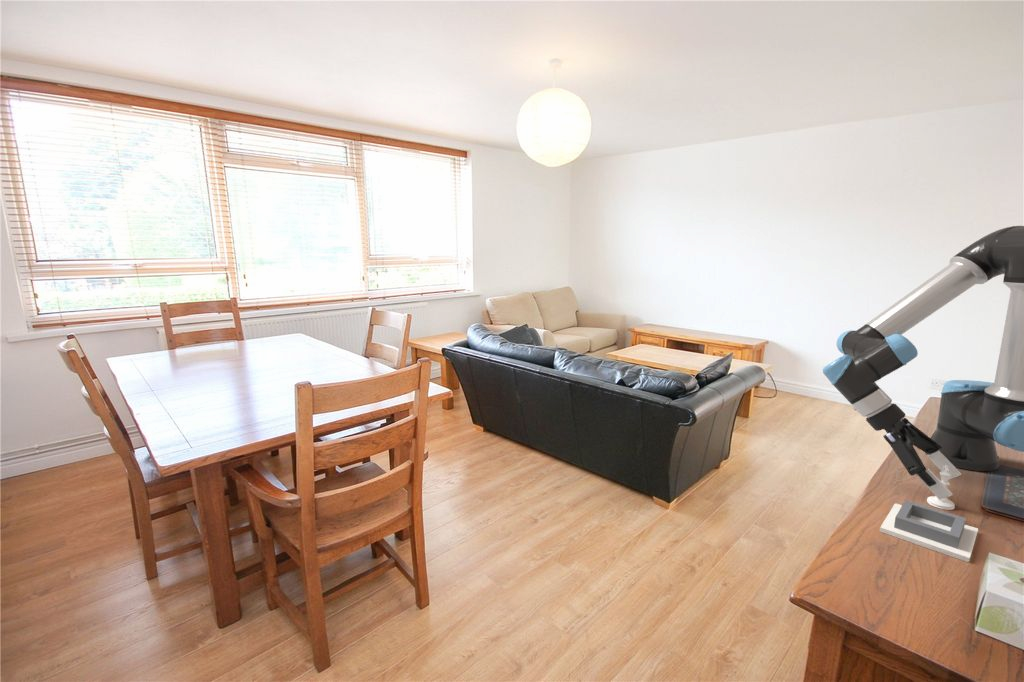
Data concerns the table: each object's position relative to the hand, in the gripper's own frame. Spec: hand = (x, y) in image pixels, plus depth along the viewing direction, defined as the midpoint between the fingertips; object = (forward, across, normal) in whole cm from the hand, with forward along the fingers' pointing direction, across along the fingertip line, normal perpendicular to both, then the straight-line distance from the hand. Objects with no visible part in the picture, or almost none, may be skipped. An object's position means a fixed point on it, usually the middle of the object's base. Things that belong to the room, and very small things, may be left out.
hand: (951, 486), depth 107 cm
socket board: (+3, +16, -5) cm, 17 cm away
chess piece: (+3, 0, -5) cm, 6 cm away
